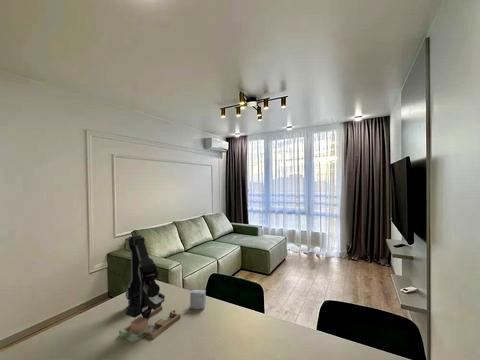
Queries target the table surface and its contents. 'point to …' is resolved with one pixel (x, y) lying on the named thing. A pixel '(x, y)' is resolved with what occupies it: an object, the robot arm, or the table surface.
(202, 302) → the medicine box
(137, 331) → the block
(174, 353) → the table surface
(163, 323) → the trap lane
